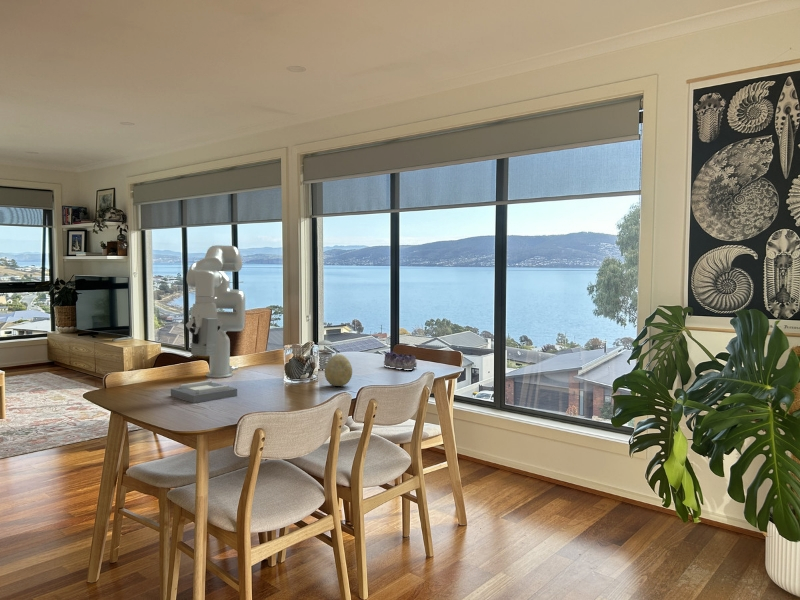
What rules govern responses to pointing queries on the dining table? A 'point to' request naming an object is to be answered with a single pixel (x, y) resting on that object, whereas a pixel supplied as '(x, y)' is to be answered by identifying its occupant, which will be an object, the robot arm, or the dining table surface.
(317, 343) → the french press
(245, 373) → the dining table surface
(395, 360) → the geode
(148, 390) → the dining table surface
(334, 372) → the fossilized egg
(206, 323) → the skincare box
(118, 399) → the dining table surface
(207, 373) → the robot arm
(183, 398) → the panel
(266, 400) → the dining table surface
